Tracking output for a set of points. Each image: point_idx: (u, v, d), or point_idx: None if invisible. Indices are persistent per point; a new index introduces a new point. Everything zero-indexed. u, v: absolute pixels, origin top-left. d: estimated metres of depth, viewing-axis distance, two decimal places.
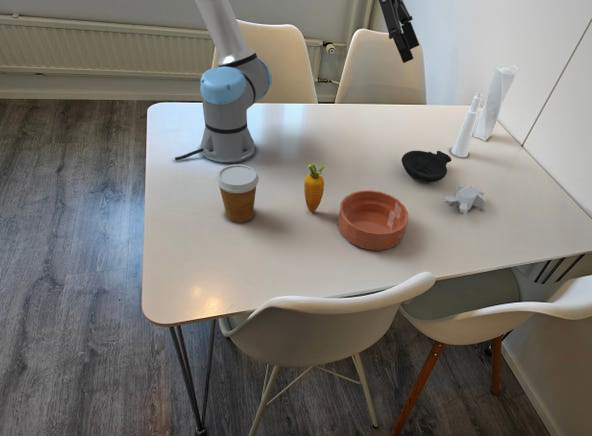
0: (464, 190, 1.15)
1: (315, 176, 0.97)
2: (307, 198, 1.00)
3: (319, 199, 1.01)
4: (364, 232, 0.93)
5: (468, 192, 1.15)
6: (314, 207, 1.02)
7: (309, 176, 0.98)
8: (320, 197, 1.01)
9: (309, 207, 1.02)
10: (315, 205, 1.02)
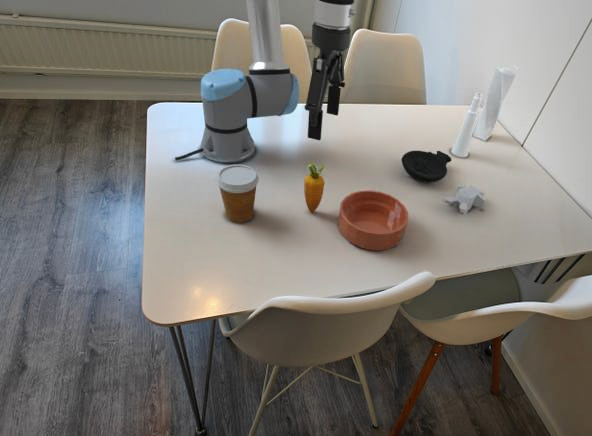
0: (464, 190, 1.15)
1: (315, 176, 0.97)
2: (307, 198, 1.00)
3: (319, 199, 1.01)
4: (364, 232, 0.93)
5: (468, 192, 1.15)
6: (314, 207, 1.02)
7: (309, 176, 0.98)
8: (320, 197, 1.01)
9: (309, 207, 1.02)
10: (315, 205, 1.02)
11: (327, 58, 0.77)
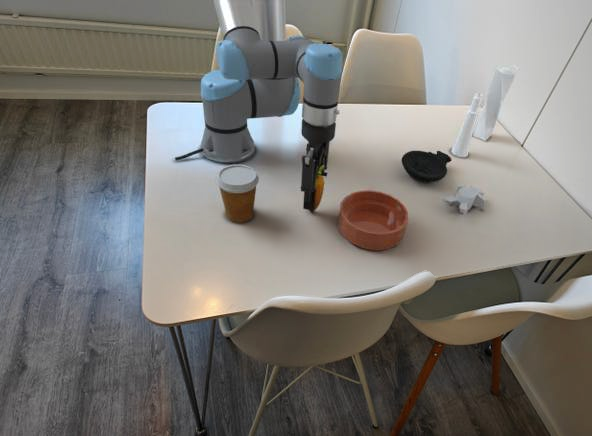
0: (464, 190, 1.15)
1: None
2: None
3: (319, 199, 1.01)
4: (364, 232, 0.93)
5: (468, 192, 1.15)
6: None
7: None
8: (320, 197, 1.01)
9: None
10: (315, 205, 1.02)
11: (314, 151, 0.89)
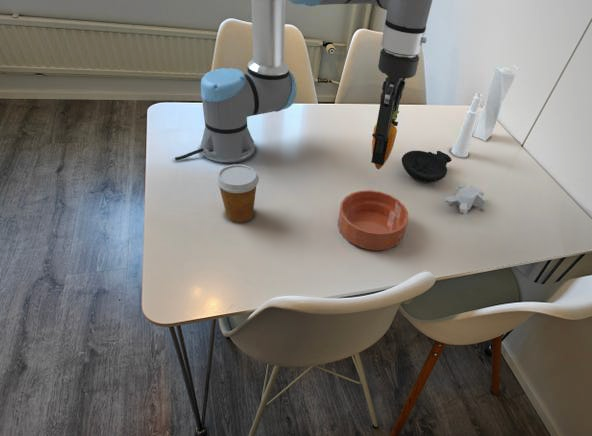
0: (464, 190, 1.15)
1: None
2: None
3: (389, 152, 0.88)
4: (364, 232, 0.93)
5: (468, 192, 1.15)
6: None
7: None
8: (390, 149, 0.88)
9: None
10: None
11: (394, 88, 0.76)
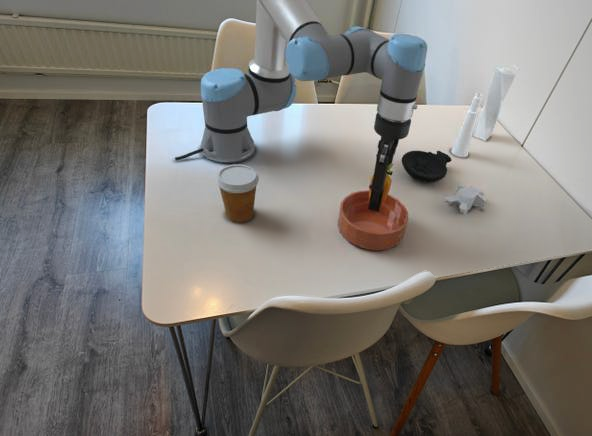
0: (464, 190, 1.15)
1: None
2: None
3: (384, 199, 0.96)
4: (364, 232, 0.93)
5: (468, 192, 1.15)
6: None
7: None
8: (386, 197, 0.96)
9: None
10: None
11: (388, 148, 0.84)
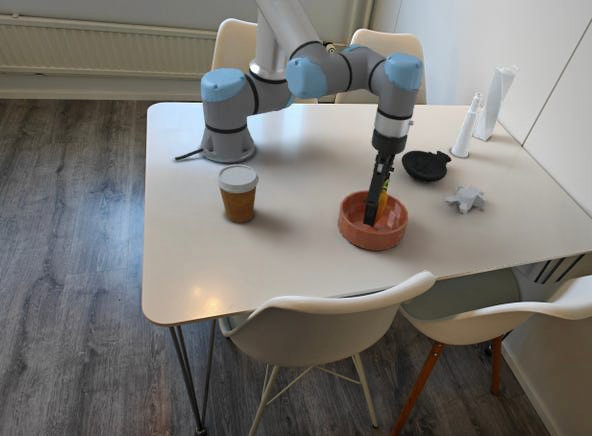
0: (464, 190, 1.15)
1: None
2: None
3: (381, 213, 0.99)
4: (364, 232, 0.93)
5: (468, 192, 1.15)
6: (376, 221, 1.00)
7: None
8: (382, 211, 0.99)
9: None
10: (377, 219, 1.00)
11: (386, 161, 0.86)
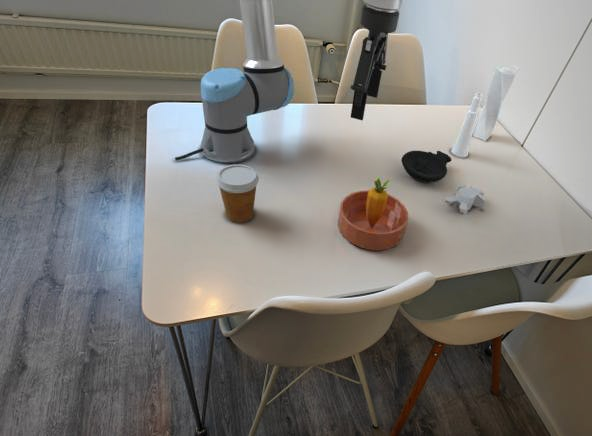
0: (464, 190, 1.15)
1: (379, 190, 0.95)
2: (369, 212, 0.98)
3: (381, 213, 0.99)
4: (364, 232, 0.93)
5: (468, 192, 1.15)
6: (376, 221, 1.00)
7: (373, 190, 0.96)
8: (382, 211, 0.99)
9: (370, 221, 1.00)
10: (377, 219, 1.00)
11: (375, 40, 0.80)
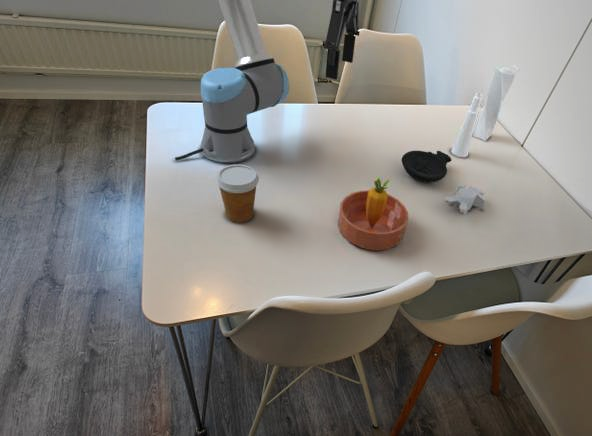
0: (464, 190, 1.15)
1: (379, 190, 0.95)
2: (369, 212, 0.98)
3: (381, 213, 0.99)
4: (364, 232, 0.93)
5: (468, 192, 1.15)
6: (376, 221, 1.00)
7: (373, 190, 0.96)
8: (382, 211, 0.99)
9: (370, 221, 1.00)
10: (377, 219, 1.00)
11: (345, 1, 0.87)
